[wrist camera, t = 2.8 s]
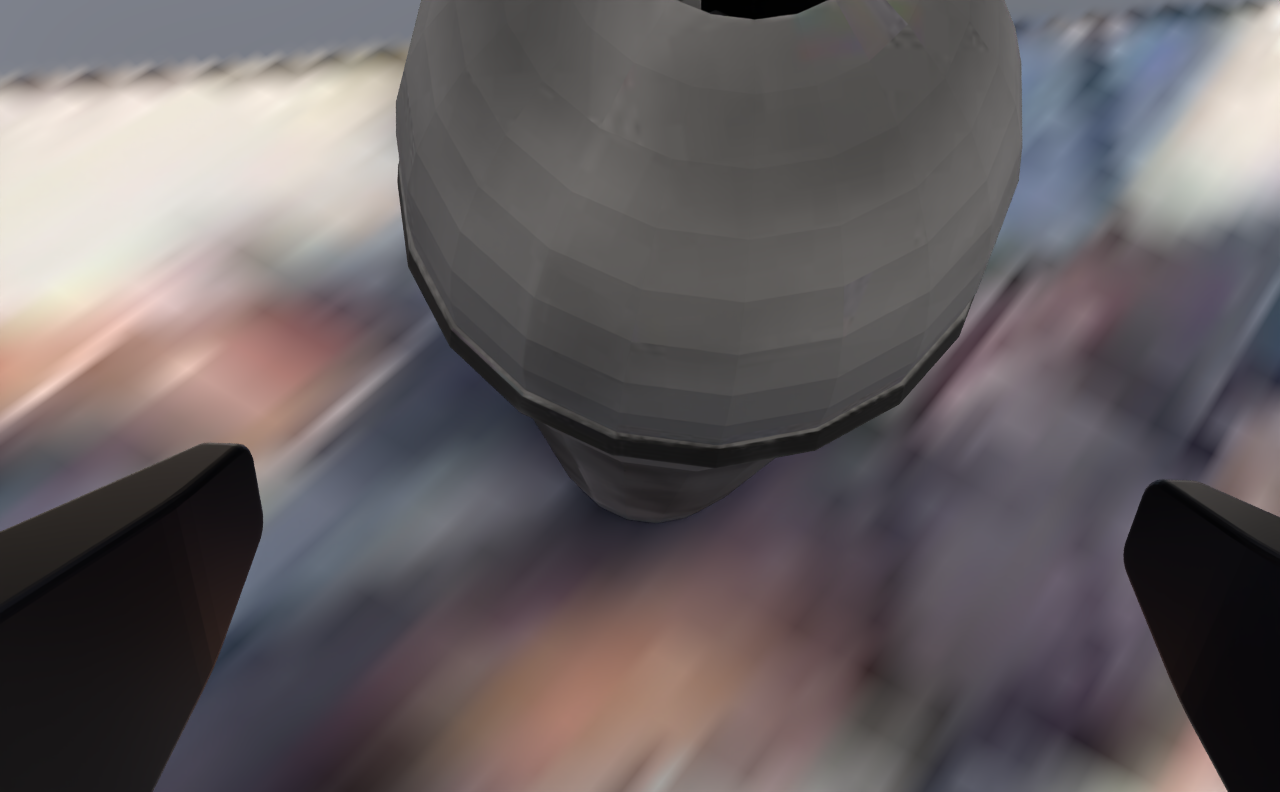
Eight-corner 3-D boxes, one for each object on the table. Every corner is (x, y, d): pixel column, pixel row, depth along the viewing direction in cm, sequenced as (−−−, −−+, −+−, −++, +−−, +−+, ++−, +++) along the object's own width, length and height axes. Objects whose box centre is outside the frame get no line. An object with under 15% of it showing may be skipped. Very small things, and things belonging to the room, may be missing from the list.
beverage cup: (849, 521, 21) (2839, -844, 2) (558, 628, 20) (-166, -207, 1) (735, 260, 23) (1291, -1604, 4) (466, 346, 22) (-337, -1587, 3)
